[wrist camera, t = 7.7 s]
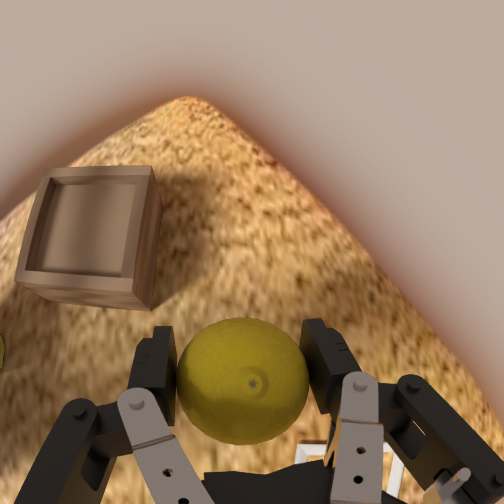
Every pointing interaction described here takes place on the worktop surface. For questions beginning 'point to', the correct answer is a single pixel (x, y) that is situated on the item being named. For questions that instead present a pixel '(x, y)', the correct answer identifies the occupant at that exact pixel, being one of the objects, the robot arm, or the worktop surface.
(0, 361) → the plant pot
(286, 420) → the lemon
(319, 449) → the white square frame
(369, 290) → the worktop surface
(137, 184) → the wooden box
